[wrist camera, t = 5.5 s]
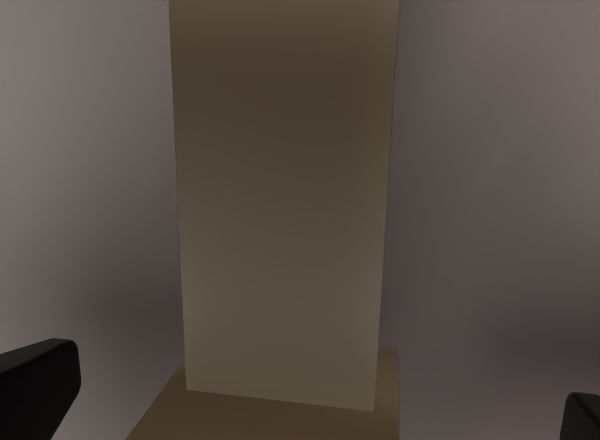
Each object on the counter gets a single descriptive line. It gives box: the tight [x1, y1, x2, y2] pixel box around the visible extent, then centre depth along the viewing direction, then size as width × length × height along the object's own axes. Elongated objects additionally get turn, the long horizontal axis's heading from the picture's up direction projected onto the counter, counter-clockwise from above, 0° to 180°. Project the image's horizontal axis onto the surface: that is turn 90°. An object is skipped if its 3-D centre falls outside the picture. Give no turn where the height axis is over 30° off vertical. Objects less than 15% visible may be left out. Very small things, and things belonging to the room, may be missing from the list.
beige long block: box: [126, 0, 400, 440], centre depth 6 cm, size 11×3×3 cm, turn 179°
